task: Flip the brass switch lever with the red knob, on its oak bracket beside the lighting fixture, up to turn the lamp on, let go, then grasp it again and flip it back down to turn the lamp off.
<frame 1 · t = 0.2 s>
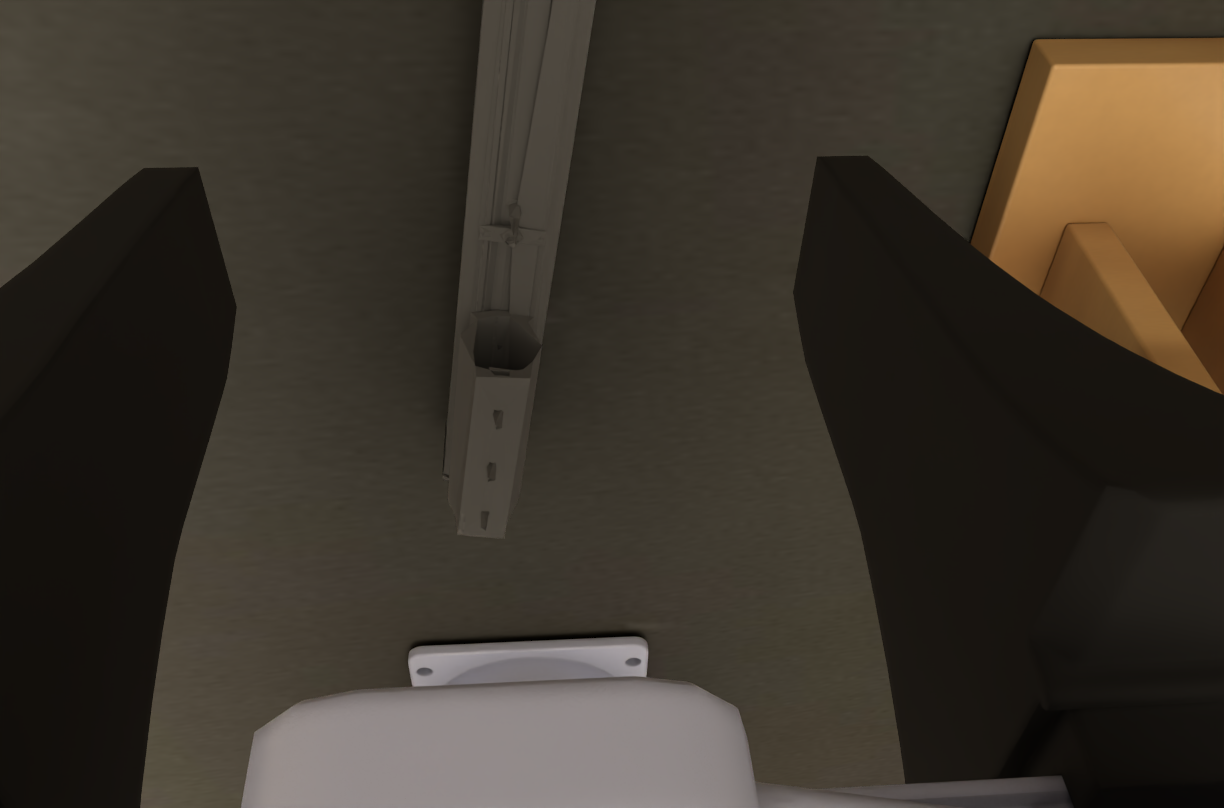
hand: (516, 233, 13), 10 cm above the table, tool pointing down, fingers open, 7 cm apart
switch bracket: (1118, 265, 27), on the table
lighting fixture: (504, 114, 23), on the table
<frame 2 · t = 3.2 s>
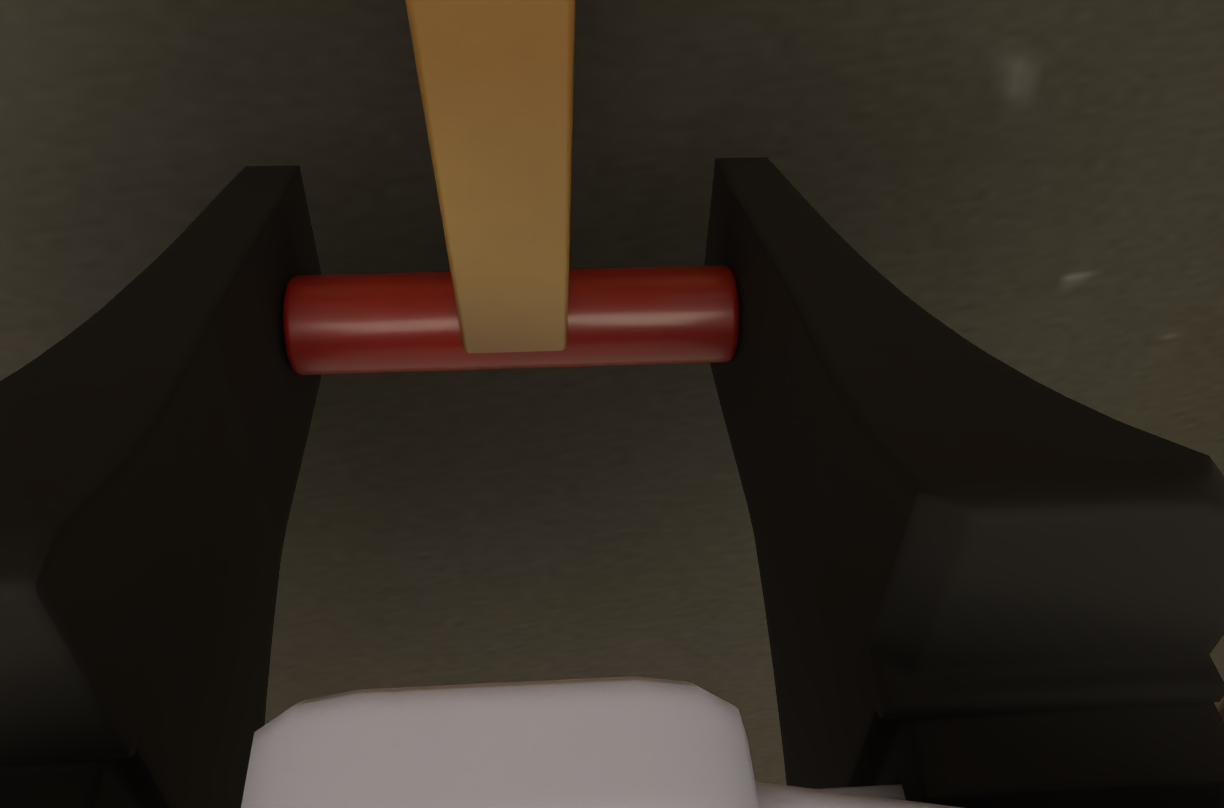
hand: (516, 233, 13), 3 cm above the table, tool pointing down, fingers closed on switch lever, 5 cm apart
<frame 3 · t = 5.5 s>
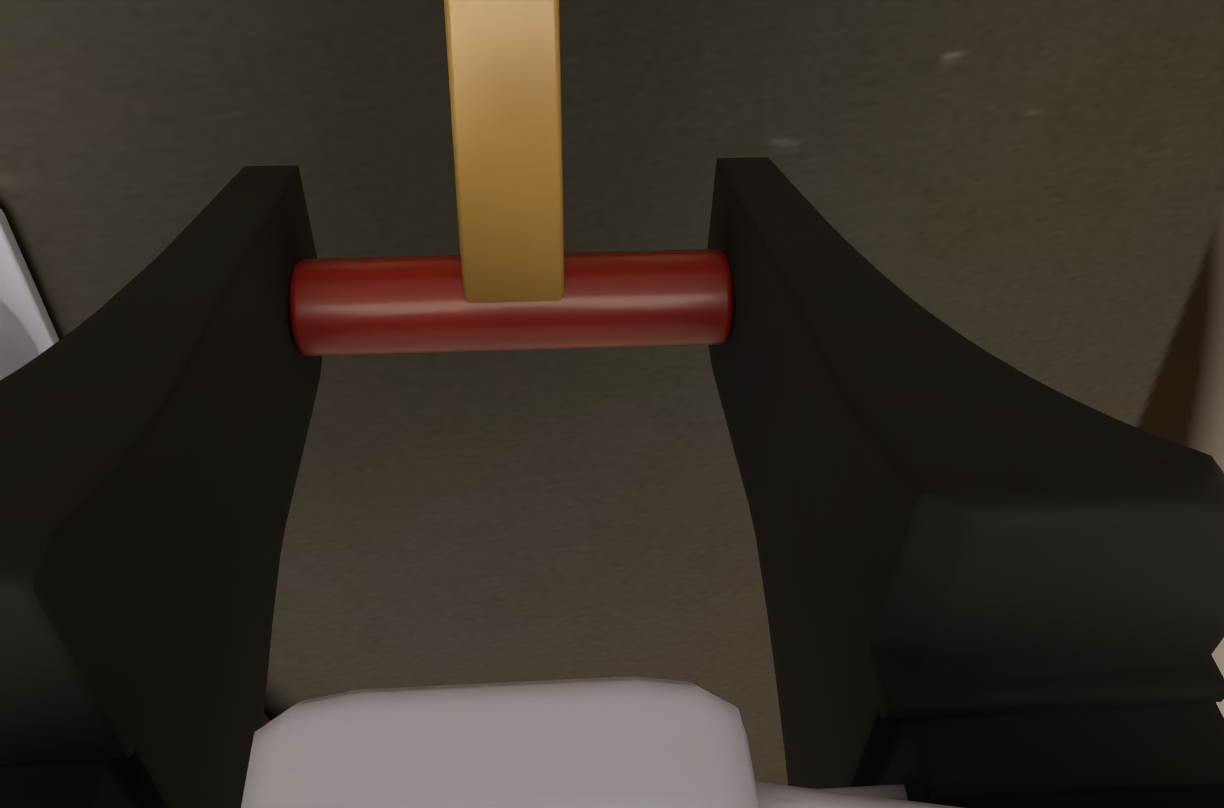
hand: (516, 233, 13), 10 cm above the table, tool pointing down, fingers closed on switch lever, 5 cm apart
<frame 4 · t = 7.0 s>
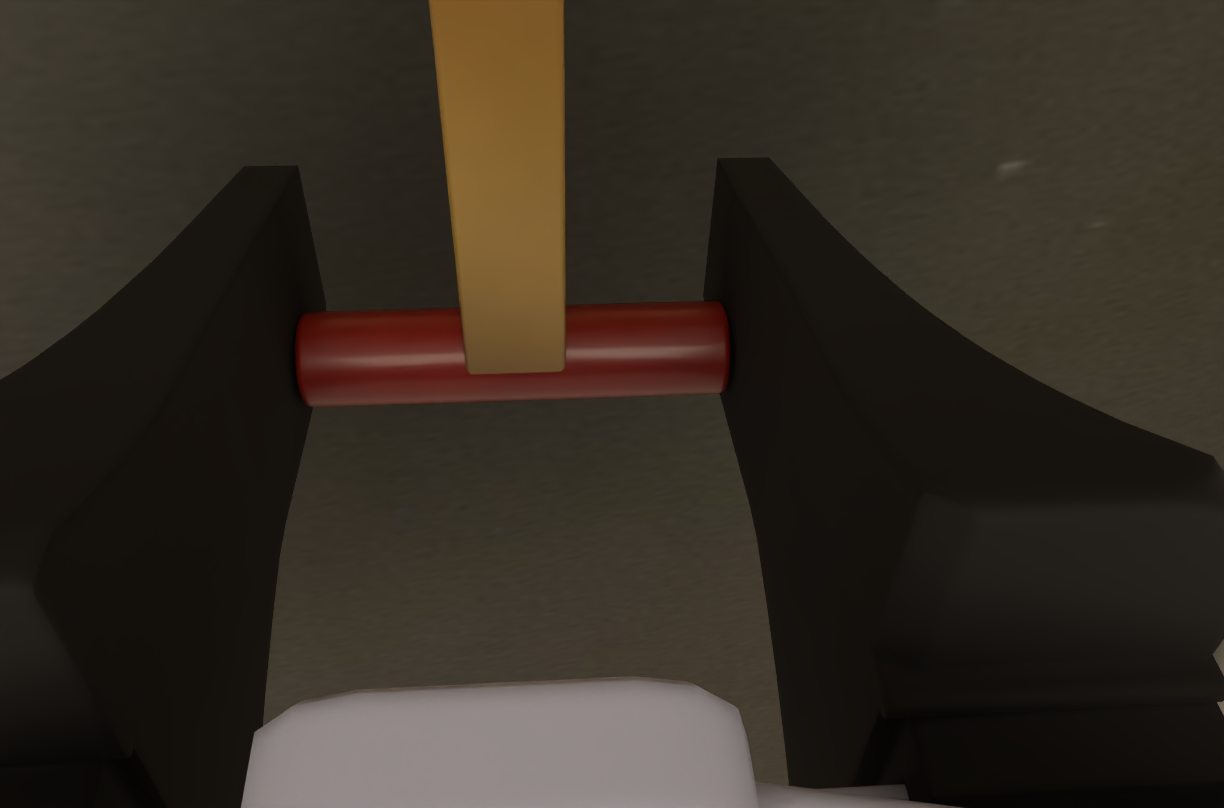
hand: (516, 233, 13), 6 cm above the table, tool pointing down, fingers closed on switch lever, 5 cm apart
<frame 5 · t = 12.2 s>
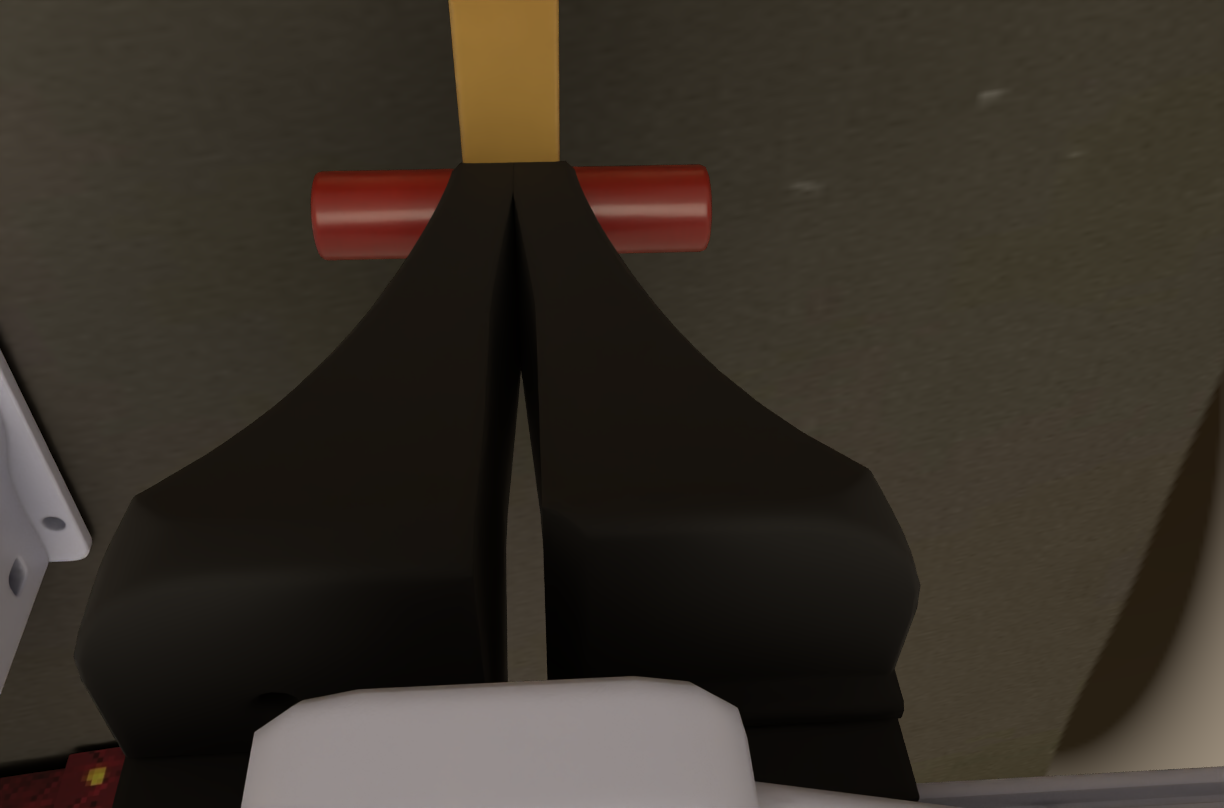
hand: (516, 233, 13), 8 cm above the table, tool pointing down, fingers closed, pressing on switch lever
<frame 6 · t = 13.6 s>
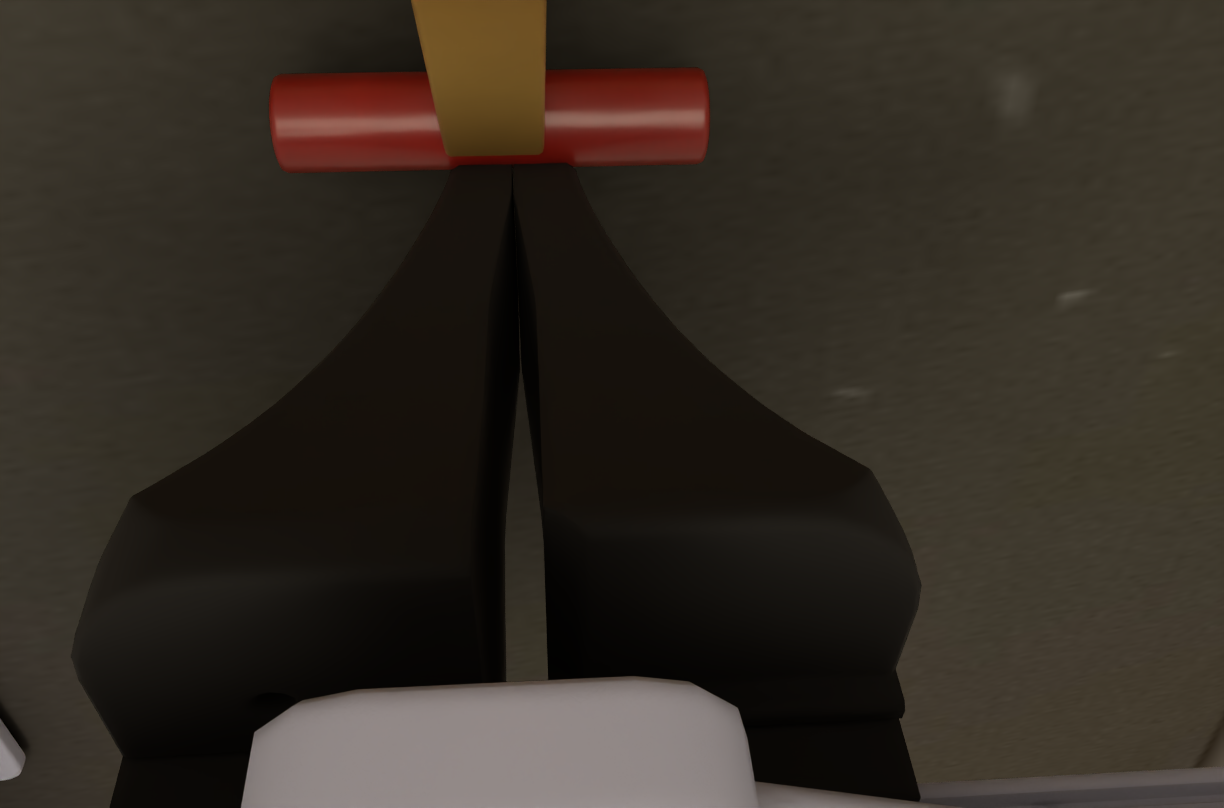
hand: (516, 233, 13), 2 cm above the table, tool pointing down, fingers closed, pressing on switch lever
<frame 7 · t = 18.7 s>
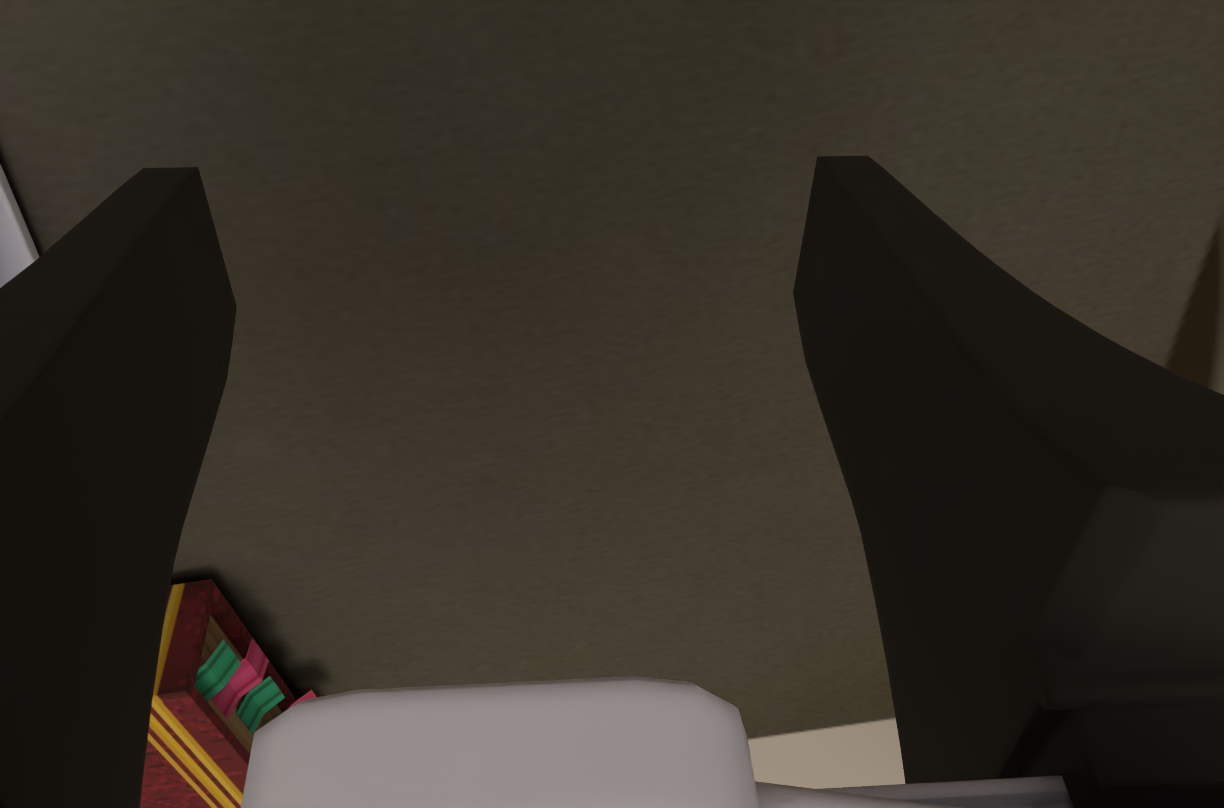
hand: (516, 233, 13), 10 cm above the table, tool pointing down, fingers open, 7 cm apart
decorative book: (90, 683, 38), on the table
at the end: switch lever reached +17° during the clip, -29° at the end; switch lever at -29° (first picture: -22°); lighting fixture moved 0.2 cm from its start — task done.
